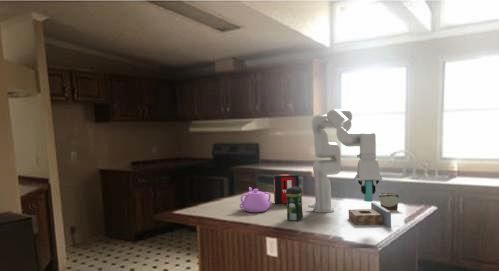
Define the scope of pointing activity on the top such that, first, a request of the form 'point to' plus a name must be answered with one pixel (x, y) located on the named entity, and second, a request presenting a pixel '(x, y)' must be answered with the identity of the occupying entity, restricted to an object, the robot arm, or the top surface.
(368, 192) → the dowel
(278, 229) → the top surface
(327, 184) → the robot arm
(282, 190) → the cleaning product box
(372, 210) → the socket block
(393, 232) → the top surface
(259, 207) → the teapot
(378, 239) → the top surface
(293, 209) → the coffee jar
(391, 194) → the food container
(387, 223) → the backstop wall
